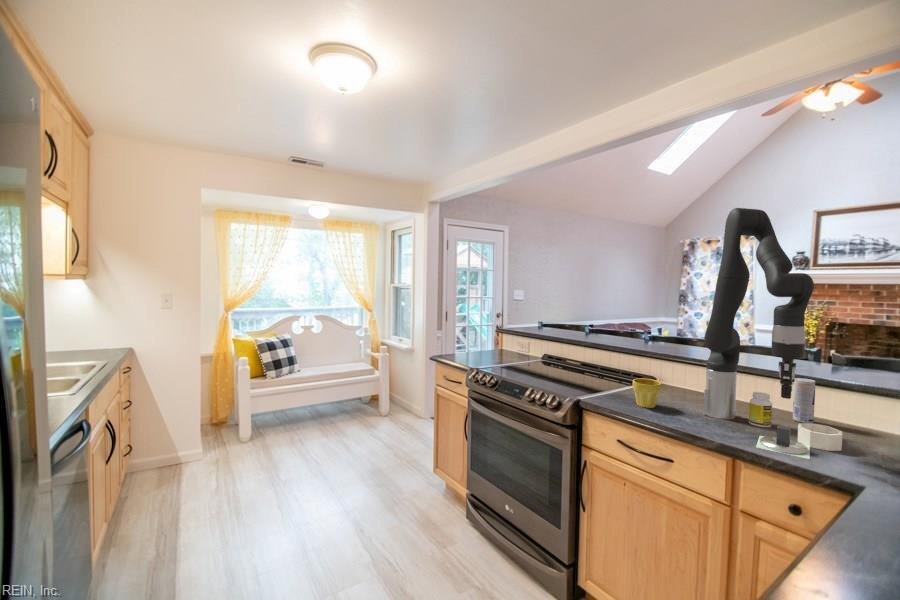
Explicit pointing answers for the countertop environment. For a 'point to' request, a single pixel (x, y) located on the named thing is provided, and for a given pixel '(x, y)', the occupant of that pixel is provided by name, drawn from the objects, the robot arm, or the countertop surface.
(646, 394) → the plant pot
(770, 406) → the pill bottle
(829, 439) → the bowl
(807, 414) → the beverage can
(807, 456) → the mat
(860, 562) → the countertop surface
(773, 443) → the lid
